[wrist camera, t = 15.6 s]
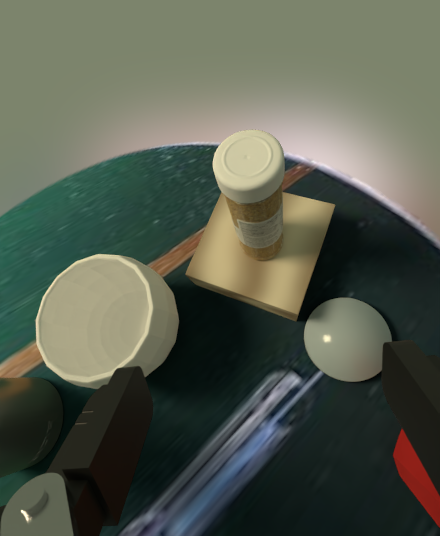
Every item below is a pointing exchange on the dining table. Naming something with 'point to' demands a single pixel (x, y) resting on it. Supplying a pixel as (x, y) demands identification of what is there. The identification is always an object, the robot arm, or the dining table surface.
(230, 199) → the sprinkles bottle
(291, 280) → the birch block
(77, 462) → the robot arm
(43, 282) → the dining table surface
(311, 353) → the pale grey dome
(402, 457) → the french fries
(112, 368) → the cup
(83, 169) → the dining table surface
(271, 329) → the dining table surface
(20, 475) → the dining table surface
